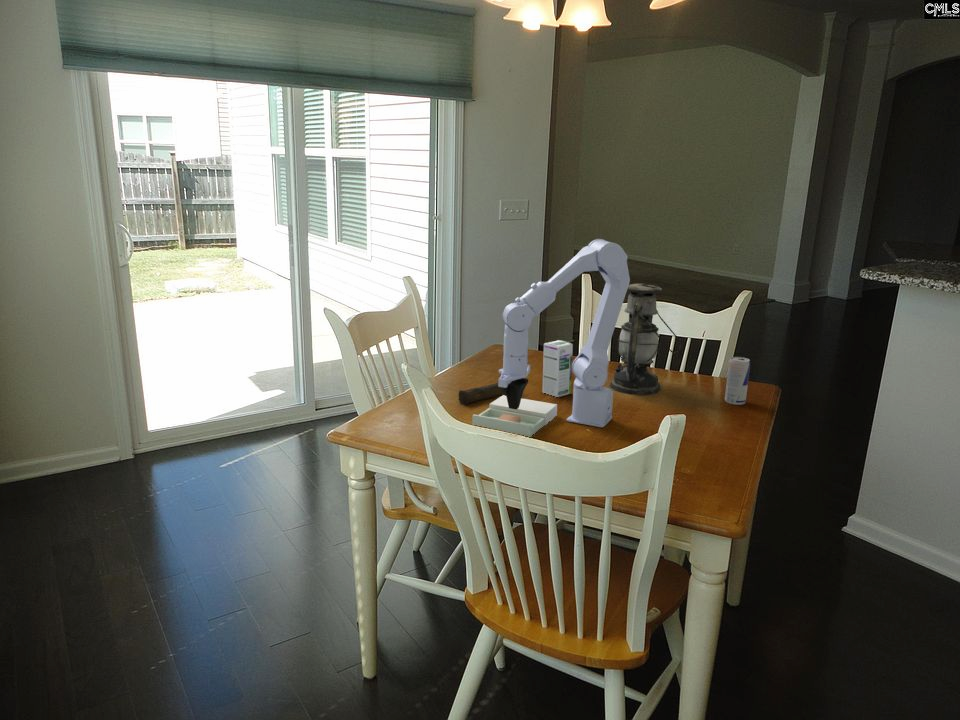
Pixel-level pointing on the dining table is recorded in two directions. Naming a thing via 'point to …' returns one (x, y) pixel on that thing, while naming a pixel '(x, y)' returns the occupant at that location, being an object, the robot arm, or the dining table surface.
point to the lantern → (639, 343)
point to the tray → (509, 422)
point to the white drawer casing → (527, 408)
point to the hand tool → (480, 393)
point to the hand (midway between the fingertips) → (513, 408)
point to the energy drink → (737, 380)
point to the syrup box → (557, 368)
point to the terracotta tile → (510, 418)
